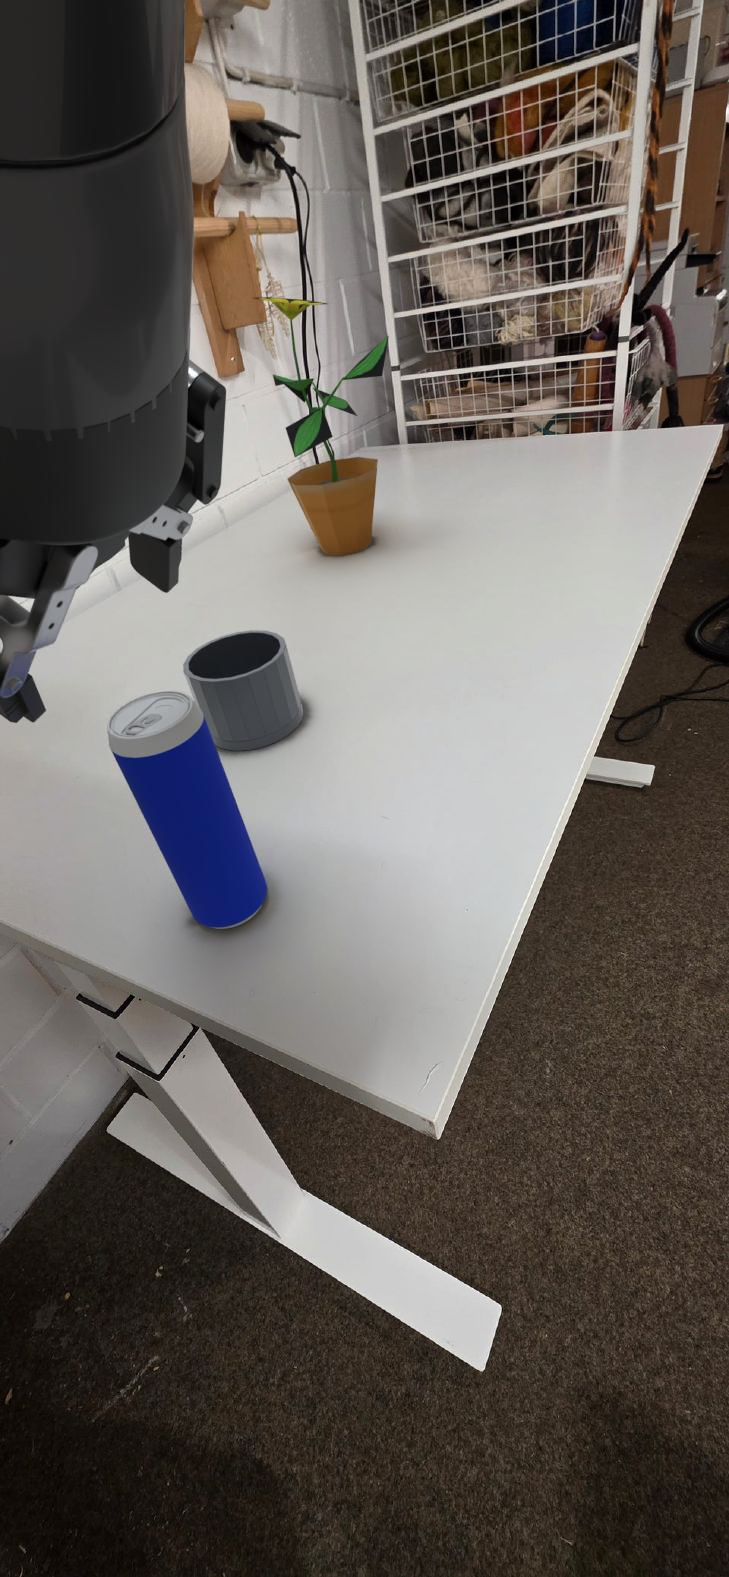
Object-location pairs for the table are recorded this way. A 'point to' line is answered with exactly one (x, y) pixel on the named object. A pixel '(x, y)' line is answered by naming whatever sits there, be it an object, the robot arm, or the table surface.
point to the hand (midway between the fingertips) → (90, 637)
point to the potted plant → (331, 457)
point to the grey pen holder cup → (245, 689)
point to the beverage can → (188, 806)
